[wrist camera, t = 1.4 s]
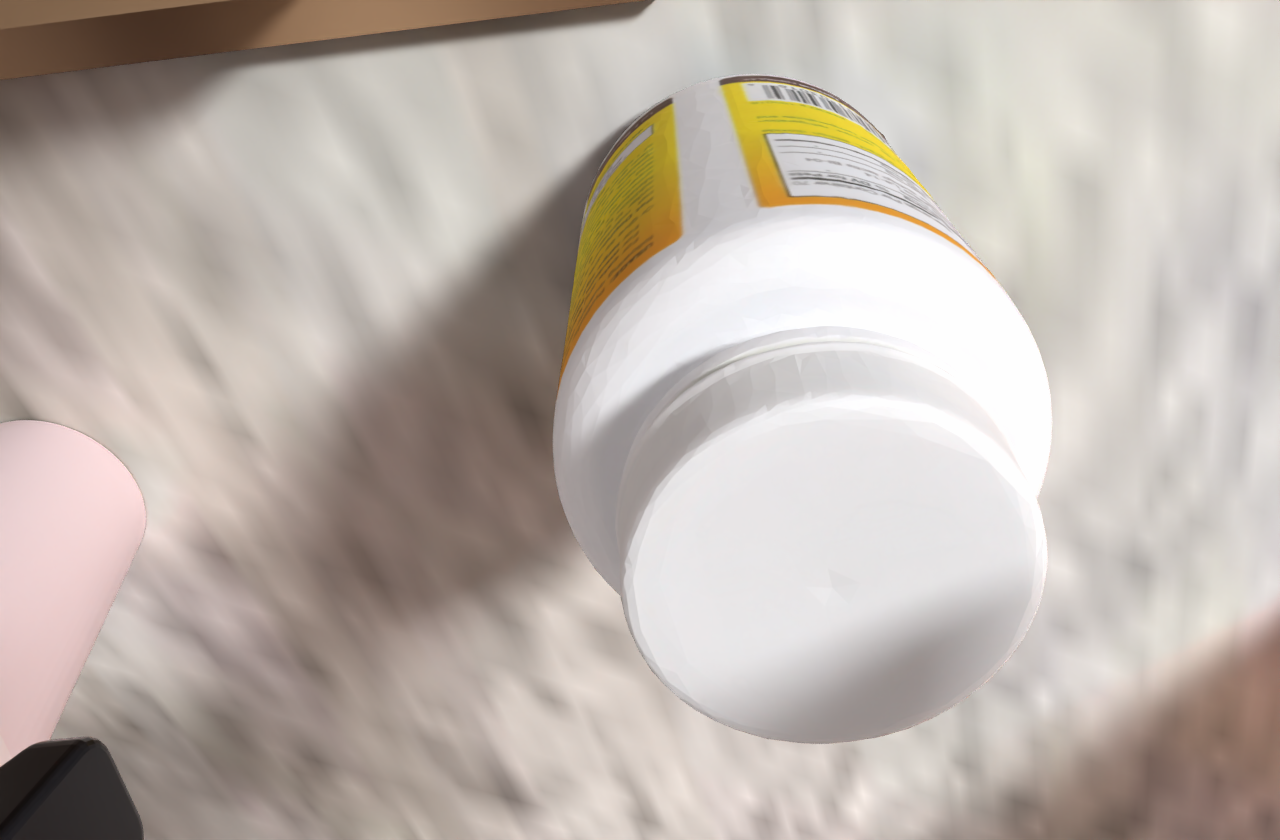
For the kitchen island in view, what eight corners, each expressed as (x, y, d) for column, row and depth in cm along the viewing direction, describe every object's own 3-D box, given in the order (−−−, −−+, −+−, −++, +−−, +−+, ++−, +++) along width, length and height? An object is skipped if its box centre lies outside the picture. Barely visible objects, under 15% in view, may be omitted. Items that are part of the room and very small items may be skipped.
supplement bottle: (628, 403, 21) (613, 847, 12) (544, 111, 18) (443, 392, 9) (925, 337, 20) (1153, 756, 11) (882, 26, 18) (1132, 239, 9)
